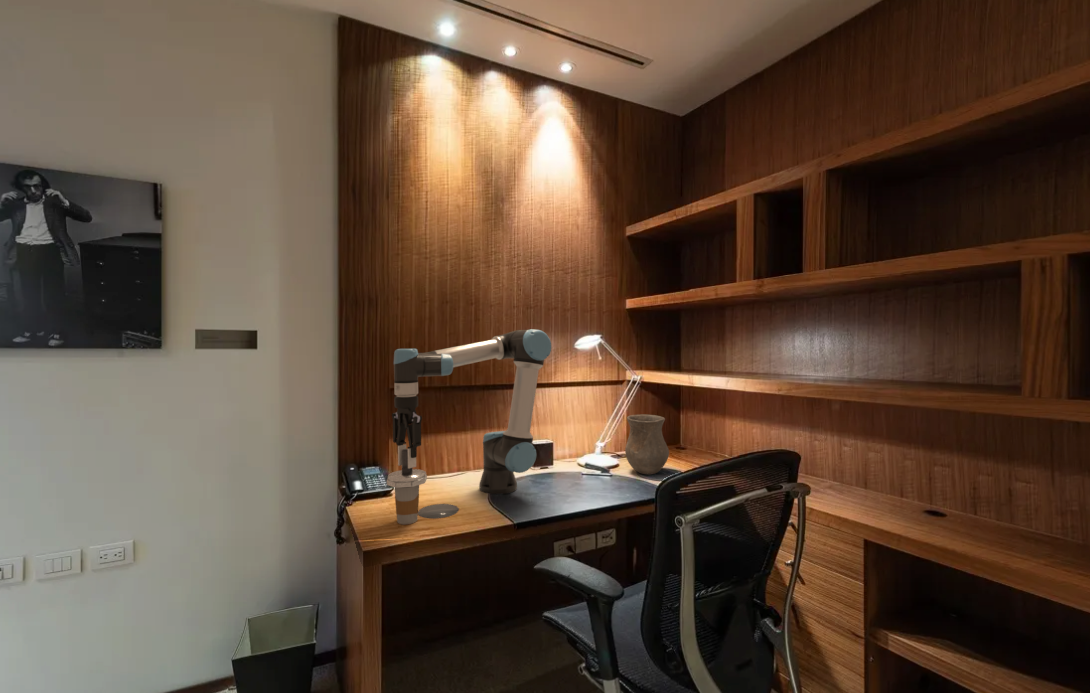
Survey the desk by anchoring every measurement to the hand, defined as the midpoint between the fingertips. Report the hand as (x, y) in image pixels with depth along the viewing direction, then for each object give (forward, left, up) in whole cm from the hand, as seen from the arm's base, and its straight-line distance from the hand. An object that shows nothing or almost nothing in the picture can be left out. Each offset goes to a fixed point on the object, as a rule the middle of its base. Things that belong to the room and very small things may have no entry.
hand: (407, 465), depth 152 cm
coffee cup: (0, 0, -19) cm, 19 cm away
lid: (0, 0, -5) cm, 5 cm away
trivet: (-9, -8, -19) cm, 22 cm away
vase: (-97, -45, -19) cm, 109 cm away
